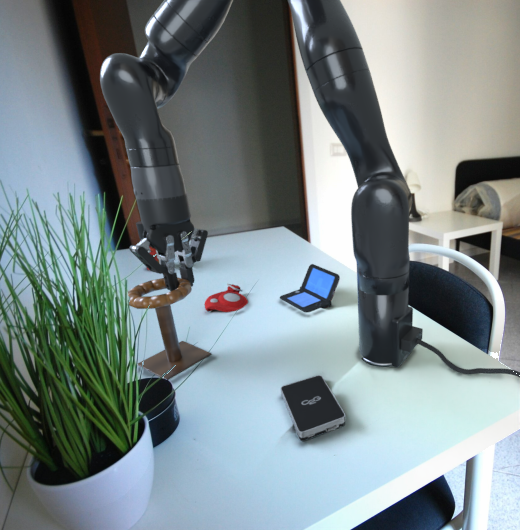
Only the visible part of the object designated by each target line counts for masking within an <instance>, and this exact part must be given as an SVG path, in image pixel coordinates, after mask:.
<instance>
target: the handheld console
mask: <svg viewBox="0 0 520 530" xmlns="http://www.w3.org/2000/svg"><path fill="white" fill-rule="evenodd" d="M340 279H341V276H340V274H338V273H336V272H333V271H331V270H328V269H326V268H323V267H321V266H319V265H316V264H314V263H311V264H309V266H308V268H307V270H306V273H305V276H304V278H303V281H302V283H301V286H300V287H299V289H296V290H293V291H290V292H288V293H285V294H282V295H280V296H279V299H280V300H282V301H284V302H285V303H287V304H289V305H290V306H293V307H294V308H295V309H297V310H300V311H301V312H302V313H305V314H306V313H311V312H314V311H316V310H318V309H322V310H324V309H326V308H330V307H332V301H333V298H334V295H335V292H336V290H337V287H338V284H339V282H340Z"/></svg>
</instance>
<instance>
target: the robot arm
mask: <svg viewBox="0 0 520 530" xmlns="http://www.w3.org/2000/svg"><path fill="white" fill-rule="evenodd" d="M233 2H234V0H163V1H162V2H161V4H160V5H159V6H158V7H157V9H156V10H155V11H154V13H153V14H152V15H151V16H150V18H149V19H148V20H147V22H146V24H145V27H144V34H145V37H146V39H147V42H146V44H145V47H144V49H143V50H142V52H141V54H140V55H139V56H138V57H137V56H134V55H131V54H128V53H124V52H123V53H122V52H119V53H118V52H117V53H112V54H110V55H108V56H107V57H106V58H105V59H104V60H103V62H102V64H101V66H100V72H99V81H100V82H99V83H100V88H101V91H102V92H101V93H102V94H103V98H104V100H105V102H106V105H107V107H108V109H109V111H110V113H111V115H112V117H113V120H114V122H115V124H116V126H117V128H118V130H119V132H120V133H121V135H122V137H123V139H124V146H125V150H126V154H127V158H128V163H129V167H130V172H131V173H130V175H131V183H132V187H133V194H134V196H135V200H136V205H137V209H138V212H139V217H140V221H142V224H143V226H144V233H143V239H142V240H141V241H140V240H139V242H137V244H130V246H129V248H128V249H129V252H130V253H132V254H133V255H134V257H136V258H137V260H139V261H140V262H141V264H143V265H144V266H145V267H146V269H147V268H148V269H149V270H148V271H150V272H152V273H156V274H159V275H162V278H164V281H165V286H166V288H167V290H168V291H169V292H171V291H173V290H176V289H177V288H178V286H179V283H178V278H179V277H178V275H177V272H176V267H175V260H176V258H177V261H178V264H179V265H180V266H179V267H178V270H179V274H180V278H182V279H185V280H188V281H189V282H190V284H191V288H193V287H194V283H195V276H194V270H193V266H194V264H195V263H197V262H201V260H202V257H203V254H204V250H205V246H206V244H207V243H206V242H207V238H208V235H209V231H208V230H207V229H203V228H197V227H195V225H194V224H193V222H192V220H191V216H192V214H191V209H190V204H189V198H188V193H187V188H186V183H185V182H186V181H185V178H184V175H183V172H182V168H181V165H180V161H179V155H178V149H177V145H176V141H175V137H174V134H173V133H172V131H171V129H169V128H168V127H166V126H165V125H164V124H163V122H162V119H161V116H160V112H159V109H161V108H163V107H164V106H165V105H167V104H168V103H169V102H170V101H171V100H172V99H173V98H174V96H175V95H176V94H177V92H178V91H179V89H180V86H181V85H182V83H183V81H184V79H185V78H186V76H187V73H188V71H189V68H190V67H191V65H192V63H194V61H196V59H197V58H198V57H199V56H200V55H201V54H202V52H203V51H204V50H205V49H206V47H207V46H208V45H209V43H211V42H212V41H213V39H214V38H215V36H216V35H217V34H218V32H219V31H220V29H221V28H222V26H223V24H224V23H225V20H226V18H227V16H228V13H229V12H230V9H231V6H232V4H233ZM287 3H288V6H289V10H290V13H291V17H292V22H293V28H294V34H295V37H296V42H297V46H298V47H297V48H298V50H299V51H298V52H299V54H300V55H299V56H300V58H301V62H302V64H303V68H304V71H305V74H306V76H307V79H308V82H309V84H310V87H311V90H312V93H313V94H314V97H315V99H316V102H317V104H318V107H319V109H320V110H321V112H322V114H323V116H324V118H325V120H326V121H327V123H328V125H329V126H330V128H331V129H332V130H333V133H334V134H335V135H336V137H337V138H338V140H339V142H340V143H341V145H342V146H343V148H344V150H345V152H346V154H347V156H348V160H349V162H350V165H351V167H352V170H353V174H354V179H355V181H356V184H357V189H356V191H355V192H354V194H353V196H352V200H351V207H350V209H351V211H350V215H351V218H350V219H351V220H350V221H351V235H352V251H353V256H354V259H355V262H356V283H357V284H356V286H357V287H356V289H357V290H356V291H357V320H358V322H357V323H358V324H357V325H358V347H359V350H358V351H359V354H360V355H361V357H362V358H361V360H362V361H363V362H364V363H366V364H368V365H369V366H370V365H371V366H373V367H378V368H389V367H392V368H396V369H398V368H400V367H401V365H402V364H403V363H404V362H405V361H406V360H407V358H408V357H409V356H410V354H411V353H412V352H413V350H414V349H415V348H416V347H417V346H418V345H419V346H421V347H423V348H426V349H427V350H429V351H431V352H432V353H434V354H435V355H436V356H437V357H438V358H439V359H440V360H441V361H442V362H443V364H444V365H446V366H447V367H449V368H450V369H451V370H453V371H454V372H456V373H458V374H463V375H477V374H486V375H487V374H490V375H491V374H498V375H499V374H500V375H503V374H504V375H511V376H515V377H517V378H519V379H520V376H519V375H520V371H519V370H516V369H512V368H502V367H501V368H493V367H492V368H491V367H490V368H484V367H483V368H482V367H476V368H469V369H467V368H462V367H460V366H457V365H456V364H454V363H453V362H451V360H449V359H448V357H446V355H444V353H443V352H442V351H440V350H439V349H438V348H437V347H435V346H433V345H431V344H430V343H427V342H426V341H424V340H423V332H424V331H423V328H421V327H418V326H415V325H413V317H414V315H413V314H414V313H413V312H414V308H413V306H409V305H410V304H409V303H410V301H409V300H410V299H409V298H410V264H411V263H410V262H411V256H410V249H409V246H410V245H409V243H410V233H409V232H410V212H411V211H412V206H413V205H412V204H413V196H412V191H411V189H410V187H409V184H408V182H407V180H406V178H405V176H404V173H403V172H402V169H401V167H400V165H399V162H398V161H397V158H396V156H395V153H394V151H393V149H392V147H391V143H390V141H389V138H388V135H387V131H386V127H385V126H386V125H385V121H384V118H383V114H382V109H381V106H380V102H379V98H378V95H377V91H376V87H375V85H374V84H375V83H374V81H373V77H372V73H371V71H370V67H369V65H368V61H367V58H366V55H365V52H364V50H363V46H362V44H361V40H360V38H359V35H358V34H357V31H356V29H355V27H354V24H353V22H352V20H351V18H350V16H349V14H348V12H347V11H346V9H345V6H344V5H343V3H342V1H341V0H287ZM191 231H192V232H191ZM189 232H191V233H190V234H189V235H187V234H188V233H189ZM186 235H187V236H186ZM185 236H186V237H185ZM183 237H185V238H184V239H182V238H183ZM181 239H182V240H181ZM149 244H150V245H151V246H152V247H153V248H154V249H156V253H157V258H158V259H159V263H158V261H157V260H156V259H155V258H154V257H153V256H152V255H151V254H150V252H151V250H150V248H149ZM177 277H178V278H177ZM513 371H514V372H513ZM516 373H517V374H516Z"/></svg>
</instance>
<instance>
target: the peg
mask: <svg viewBox="0 0 520 530" xmlns="http://www.w3.org/2000/svg"><path fill="white" fill-rule="evenodd" d="M154 310H155V313H156V319H157V323H158V327H159V331H160V334H161V338H162V339H161V340H162V343H163V346H164V349H163V350H160V351H159V352H157V353H155V354H153V355H151V356H150V357H148V358H146V359H144V360H142V361H140V362H138V363H137V364H138V365H137V366H138V367H140V368H142V362H143V361H144V365H143V368H142V369H144V370H145V371H147V372H150V373H152V374H153V375H155V376H157V377H159V378H161V377H162V375H163V374H164V373H166V372H167V371H168V370H170V369H171V368H172V367H173V366H174V365H176V366H175V367H174V368H173V369H172V370H171V371H170V372H169V373H168V374H166V375H165V376H164V379H168V380H169V379H172V378H173V377H175V376H176V375H179V374H180V373H182V372H184V371H185V370H187V369H189V368H190V367H192V366H194V365H196V364H197V363H199V362H201V361H202V360H205V359H206V358H208V357H209V356H211V355H212V352H209V351H207V350H206V349H202V348H201V347H198V346H195V345H194V344H191V343H189V342H187V341H184V340H179V337H178V333H177V328H176V324H175V320H174V315H173V311H172V306H171V305H168V306H163V307H159V308H154ZM164 379H163V380H164Z"/></svg>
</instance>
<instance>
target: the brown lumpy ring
mask: <svg viewBox="0 0 520 530" xmlns="http://www.w3.org/2000/svg"><path fill="white" fill-rule="evenodd" d="M177 278H178V283H179V286H178V288H177V289H176V290H173V291H168V292H165V293H161V294H157V295H151V296H150V295H148V294H150V293H152V292H156V291H162V290H166V289H167V288H166V286H165V281H164V277H161V278H156V279H151V280H148V281H145V282H142V283H139V284H137V285H135V286H134V287H132V288H130V289H129V290H128V291H127V292H128V296H129V297H130V302H129V305H128V306H129V307H132V308H134V309H137V310H152V309H153V310H155V308H159V307H163V306H168V305H170V306H171V305H174V304H175V303H177V302H180V301H182V300H184V299H186V297H188V296H189V294H191V293H192V290H193V289H192V288H193V287H191V284H190V282H189V281H188V280H185V279H182V278H181V277H178V276H177ZM167 290H168V289H167ZM146 295H147V296H146ZM149 305H150V306H149ZM148 306H149V308H148ZM147 308H148V309H147Z"/></svg>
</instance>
